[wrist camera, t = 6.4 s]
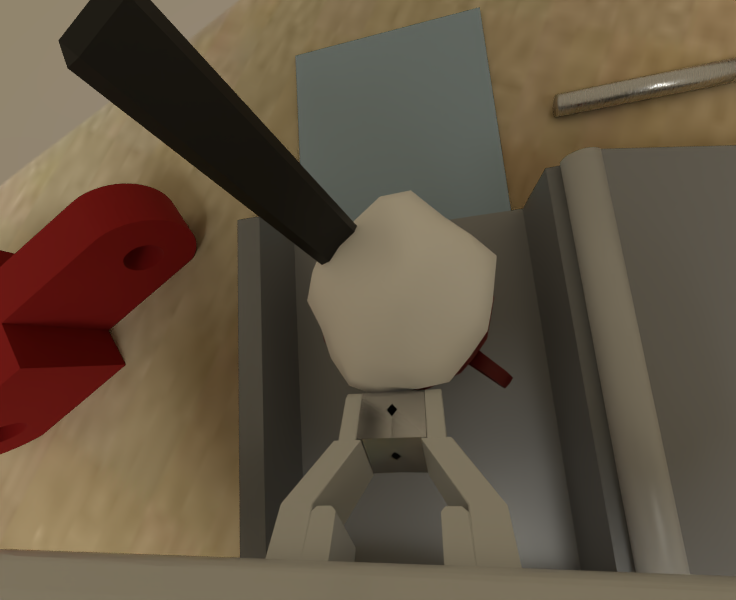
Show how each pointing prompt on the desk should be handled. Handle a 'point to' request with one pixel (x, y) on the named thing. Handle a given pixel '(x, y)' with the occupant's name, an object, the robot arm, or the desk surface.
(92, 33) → the cocoa
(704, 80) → the rod
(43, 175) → the desk surface
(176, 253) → the mechanical linkage
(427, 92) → the mat
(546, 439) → the case
